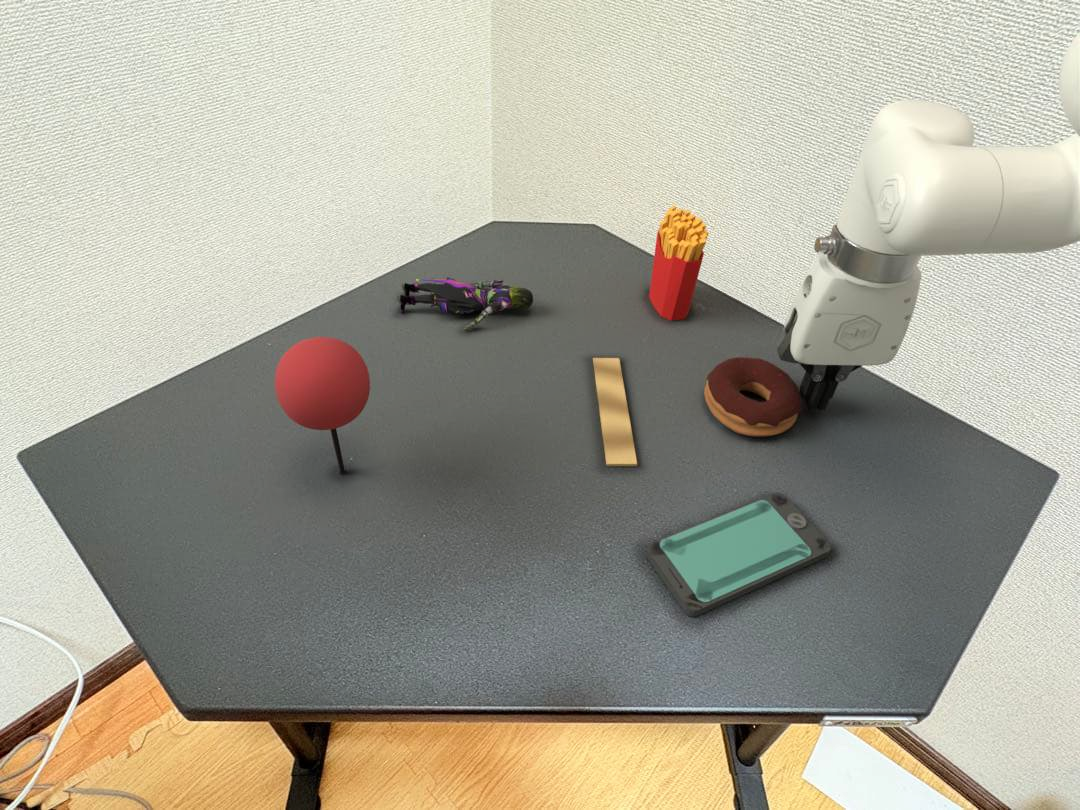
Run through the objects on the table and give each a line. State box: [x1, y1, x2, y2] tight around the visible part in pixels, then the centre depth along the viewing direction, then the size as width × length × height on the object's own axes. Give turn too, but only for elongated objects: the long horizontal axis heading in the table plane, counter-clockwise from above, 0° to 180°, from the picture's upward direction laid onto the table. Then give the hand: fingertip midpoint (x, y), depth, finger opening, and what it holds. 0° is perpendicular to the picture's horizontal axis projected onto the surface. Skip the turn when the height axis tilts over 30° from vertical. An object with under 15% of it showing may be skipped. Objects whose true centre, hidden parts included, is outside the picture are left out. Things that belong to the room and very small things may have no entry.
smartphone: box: [645, 492, 831, 618], centre depth 63 cm, size 7×1×15 cm
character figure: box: [397, 277, 534, 331], centre depth 87 cm, size 9×4×16 cm
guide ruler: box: [592, 357, 638, 467], centre depth 76 cm, size 16×3×1 cm, turn 2°
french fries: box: [648, 204, 709, 322], centre depth 86 cm, size 8×4×12 cm, turn 15°
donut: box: [703, 356, 803, 438], centre depth 76 cm, size 10×10×4 cm
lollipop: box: [274, 336, 371, 476], centre depth 64 cm, size 8×8×15 cm
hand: (812, 401), depth 77 cm, fingers closed
